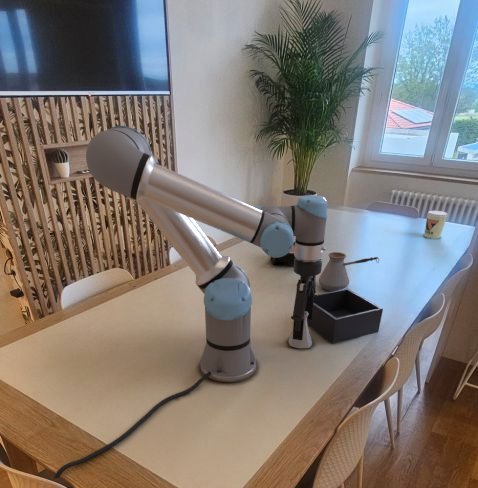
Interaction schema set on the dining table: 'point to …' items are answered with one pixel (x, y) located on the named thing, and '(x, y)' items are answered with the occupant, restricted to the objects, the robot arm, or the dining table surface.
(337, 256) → the coffee pot
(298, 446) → the dining table surface
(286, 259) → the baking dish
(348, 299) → the dark grey open box
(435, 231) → the coffee cup
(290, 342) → the flask
